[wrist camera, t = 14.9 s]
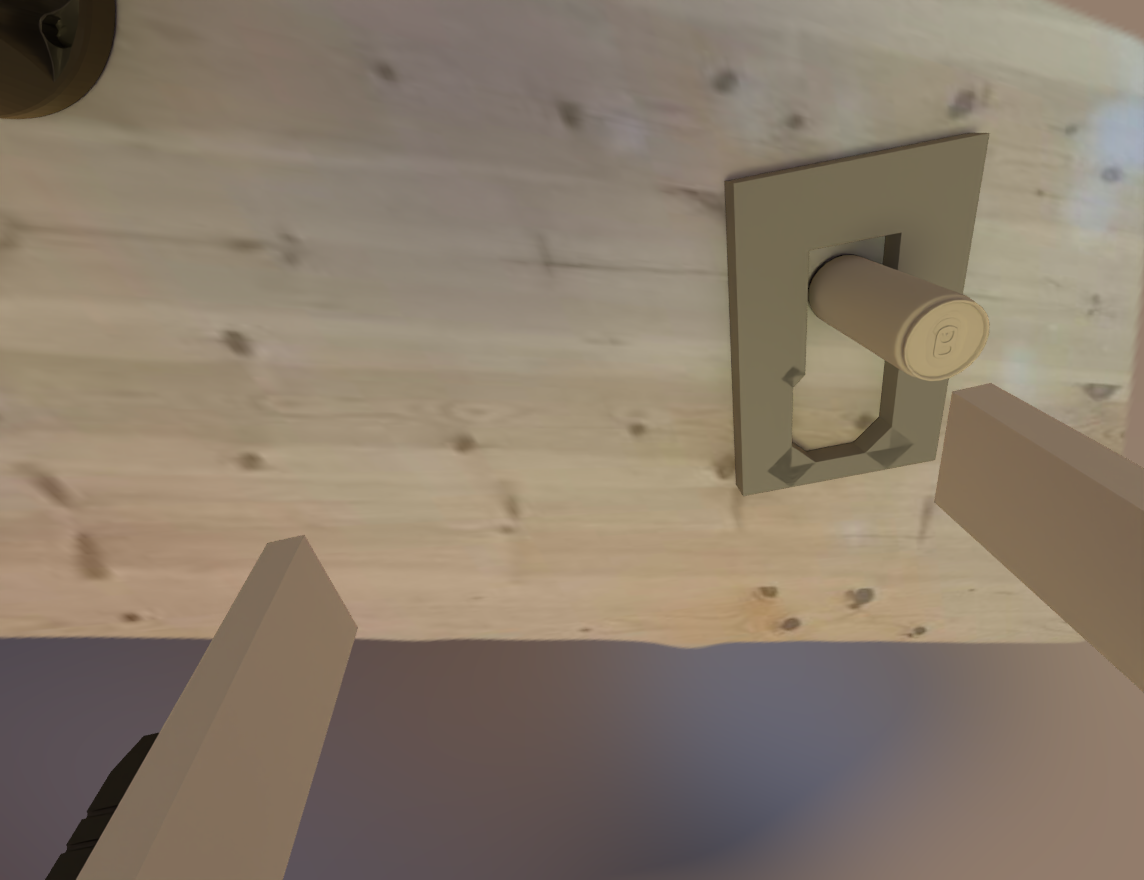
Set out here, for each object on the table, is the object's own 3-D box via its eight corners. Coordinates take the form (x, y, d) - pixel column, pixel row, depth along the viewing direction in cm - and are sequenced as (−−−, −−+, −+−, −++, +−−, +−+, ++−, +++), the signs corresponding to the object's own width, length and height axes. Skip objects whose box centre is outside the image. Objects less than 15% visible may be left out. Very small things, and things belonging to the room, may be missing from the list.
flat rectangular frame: (724, 181, 37) (733, 183, 35) (969, 133, 36) (989, 133, 35) (735, 484, 48) (743, 496, 47) (921, 449, 48) (935, 460, 46)
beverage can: (874, 247, 39) (1001, 289, 29) (867, 314, 42) (982, 375, 31) (805, 259, 40) (908, 305, 29) (802, 325, 42) (896, 390, 31)
